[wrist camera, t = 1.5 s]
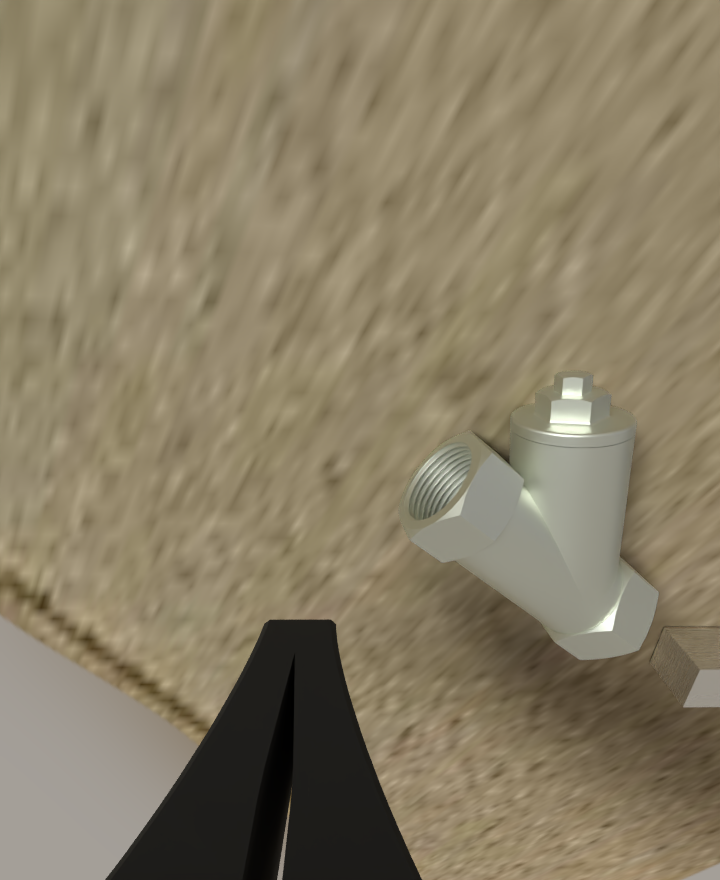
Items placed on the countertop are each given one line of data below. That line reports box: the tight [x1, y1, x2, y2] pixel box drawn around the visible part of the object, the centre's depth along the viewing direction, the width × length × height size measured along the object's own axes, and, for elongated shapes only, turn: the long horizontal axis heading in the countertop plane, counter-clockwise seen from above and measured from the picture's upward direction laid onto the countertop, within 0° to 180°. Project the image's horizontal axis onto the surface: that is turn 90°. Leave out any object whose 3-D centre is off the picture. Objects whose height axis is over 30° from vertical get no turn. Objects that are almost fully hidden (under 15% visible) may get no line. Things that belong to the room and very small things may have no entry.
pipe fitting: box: [398, 371, 659, 660], centre depth 14 cm, size 8×4×7 cm
